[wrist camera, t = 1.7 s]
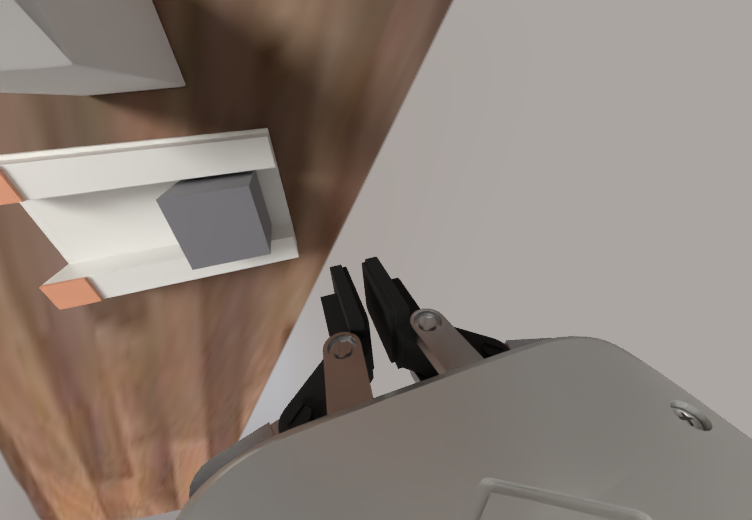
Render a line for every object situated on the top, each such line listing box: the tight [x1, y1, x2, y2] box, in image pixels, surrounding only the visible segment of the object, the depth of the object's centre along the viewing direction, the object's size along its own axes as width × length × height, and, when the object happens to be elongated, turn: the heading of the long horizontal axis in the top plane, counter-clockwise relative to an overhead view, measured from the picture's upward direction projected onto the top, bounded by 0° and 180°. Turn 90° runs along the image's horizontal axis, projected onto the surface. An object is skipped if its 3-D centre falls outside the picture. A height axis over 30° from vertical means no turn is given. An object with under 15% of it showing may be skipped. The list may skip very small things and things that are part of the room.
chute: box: [0, 128, 299, 310], centre depth 24 cm, size 20×12×5 cm, turn 97°
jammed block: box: [156, 170, 272, 270], centre depth 23 cm, size 6×6×7 cm
